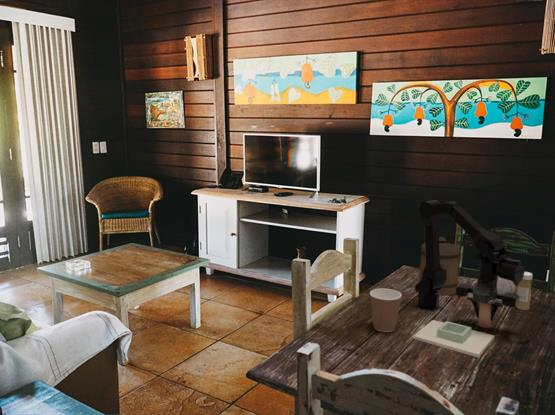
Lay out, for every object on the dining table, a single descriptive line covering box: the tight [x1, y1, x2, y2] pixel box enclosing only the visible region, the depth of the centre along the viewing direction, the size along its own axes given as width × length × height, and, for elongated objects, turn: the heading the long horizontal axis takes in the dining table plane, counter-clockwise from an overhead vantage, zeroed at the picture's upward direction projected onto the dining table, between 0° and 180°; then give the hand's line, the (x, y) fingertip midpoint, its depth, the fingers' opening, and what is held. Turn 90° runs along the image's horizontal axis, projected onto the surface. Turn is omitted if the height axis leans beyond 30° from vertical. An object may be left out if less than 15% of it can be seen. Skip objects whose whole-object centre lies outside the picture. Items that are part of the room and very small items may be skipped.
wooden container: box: [419, 236, 460, 296], centre depth 198 cm, size 15×15×22 cm
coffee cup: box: [369, 288, 402, 333], centre depth 162 cm, size 10×10×12 cm
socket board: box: [412, 319, 495, 358], centre depth 154 cm, size 20×16×4 cm
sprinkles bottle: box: [515, 271, 534, 311], centre depth 178 cm, size 5×5×14 cm
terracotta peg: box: [477, 300, 494, 329], centre depth 162 cm, size 4×4×8 cm
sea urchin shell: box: [497, 276, 517, 295], centre depth 195 cm, size 13×14×8 cm
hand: (485, 319), depth 162 cm, fingers closed on terracotta peg, 4 cm apart
